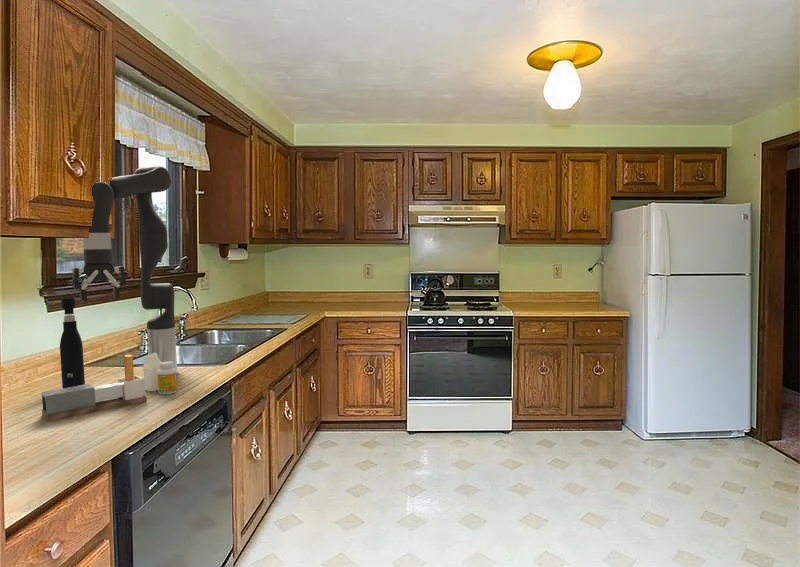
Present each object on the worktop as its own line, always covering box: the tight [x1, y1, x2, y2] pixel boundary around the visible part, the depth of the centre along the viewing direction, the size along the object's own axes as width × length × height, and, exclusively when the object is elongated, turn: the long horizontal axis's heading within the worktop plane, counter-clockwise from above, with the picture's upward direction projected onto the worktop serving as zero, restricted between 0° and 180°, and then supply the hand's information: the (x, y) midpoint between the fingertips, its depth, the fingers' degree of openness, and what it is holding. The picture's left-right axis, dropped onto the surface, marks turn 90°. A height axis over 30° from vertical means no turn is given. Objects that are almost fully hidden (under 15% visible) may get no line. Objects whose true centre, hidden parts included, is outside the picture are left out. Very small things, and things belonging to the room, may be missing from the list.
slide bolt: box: [93, 354, 135, 402], centre depth 155 cm, size 14×4×12 cm, turn 134°
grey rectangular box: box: [41, 383, 96, 416], centre depth 148 cm, size 12×5×5 cm, turn 134°
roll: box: [143, 352, 161, 392], centre depth 172 cm, size 6×12×6 cm
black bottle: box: [59, 297, 86, 389], centre depth 175 cm, size 6×6×30 cm
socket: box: [117, 374, 146, 400], centre depth 159 cm, size 6×6×5 cm
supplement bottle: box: [157, 361, 178, 395], centre depth 168 cm, size 5×5×10 cm
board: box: [41, 395, 147, 423], centre depth 153 cm, size 25×8×2 cm, turn 134°
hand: (100, 300), depth 163 cm, fingers open, 8 cm apart
